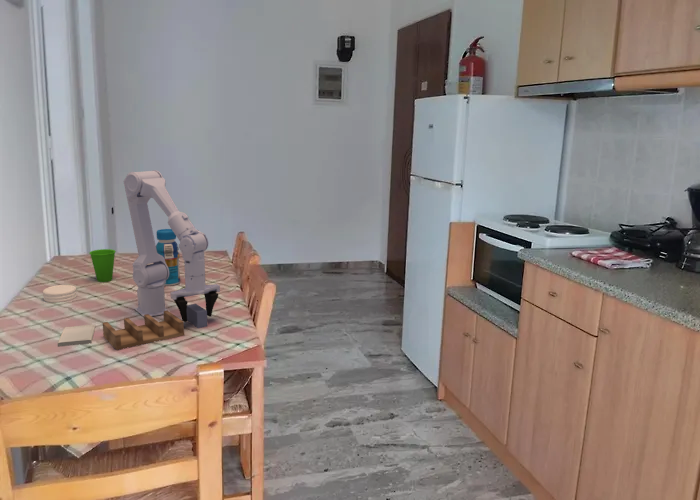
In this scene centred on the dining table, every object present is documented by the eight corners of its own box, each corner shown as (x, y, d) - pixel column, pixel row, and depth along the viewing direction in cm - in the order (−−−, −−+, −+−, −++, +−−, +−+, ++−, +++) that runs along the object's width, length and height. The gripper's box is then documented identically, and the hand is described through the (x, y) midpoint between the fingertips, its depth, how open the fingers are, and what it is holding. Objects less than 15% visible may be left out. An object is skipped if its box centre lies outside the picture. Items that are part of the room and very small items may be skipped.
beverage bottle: (152, 285, 204) (149, 231, 200) (164, 279, 212) (162, 227, 208) (172, 287, 202) (170, 233, 198) (185, 281, 210) (182, 229, 206)
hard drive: (91, 339, 150) (95, 324, 161) (57, 342, 147) (63, 326, 158) (91, 345, 150) (95, 329, 162) (57, 348, 147) (64, 332, 159)
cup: (117, 282, 207) (115, 253, 204) (90, 284, 203) (88, 255, 201) (117, 276, 215) (115, 248, 212) (92, 278, 211) (89, 249, 209)
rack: (103, 336, 155) (102, 322, 154) (168, 323, 166) (167, 310, 165) (116, 350, 146) (115, 335, 145) (184, 335, 157) (183, 321, 156)
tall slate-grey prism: (186, 321, 169) (186, 305, 168) (196, 319, 171) (195, 303, 169) (197, 328, 163) (197, 312, 161) (207, 326, 164) (206, 310, 163)
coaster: (63, 304, 182) (62, 294, 181) (36, 301, 184) (35, 291, 183) (83, 295, 191) (82, 285, 190) (57, 293, 193) (56, 283, 192)
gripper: (176, 281, 156) (178, 327, 159) (223, 273, 165) (225, 317, 168) (166, 275, 161) (169, 320, 164) (213, 268, 170) (215, 310, 173)
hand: (196, 318), depth 166 cm, fingers open, 7 cm apart
